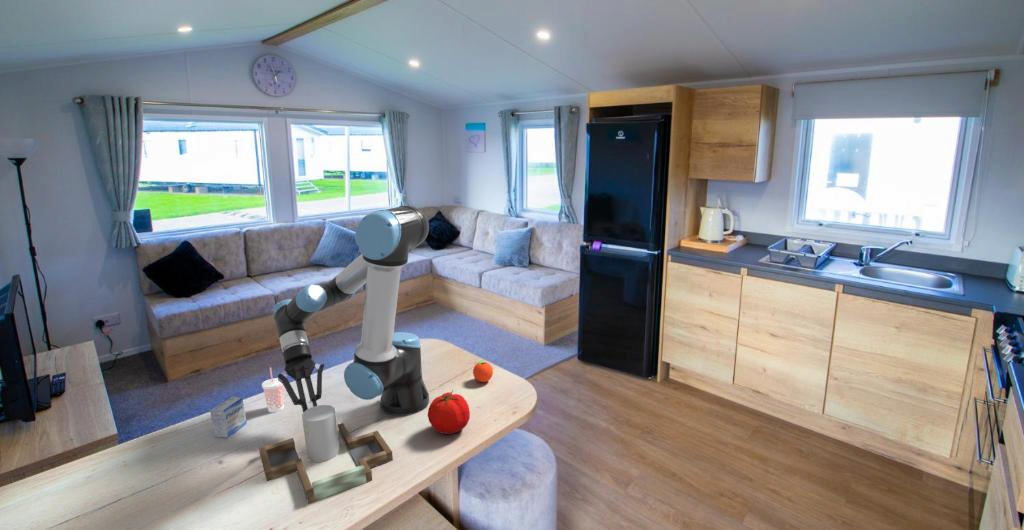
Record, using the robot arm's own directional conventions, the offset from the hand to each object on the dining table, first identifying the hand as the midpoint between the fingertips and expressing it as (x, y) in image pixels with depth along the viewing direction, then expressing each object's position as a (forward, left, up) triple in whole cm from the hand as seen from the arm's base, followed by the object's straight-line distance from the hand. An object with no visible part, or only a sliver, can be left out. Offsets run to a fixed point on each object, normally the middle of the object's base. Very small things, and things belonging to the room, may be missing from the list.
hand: (314, 425), depth 141 cm
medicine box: (+20, -20, -5) cm, 28 cm away
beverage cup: (+7, -26, -5) cm, 27 cm away
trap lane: (0, +12, -5) cm, 13 cm away
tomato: (-33, +16, -5) cm, 37 cm away
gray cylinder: (0, +7, -5) cm, 9 cm away
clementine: (-56, -6, -5) cm, 57 cm away
